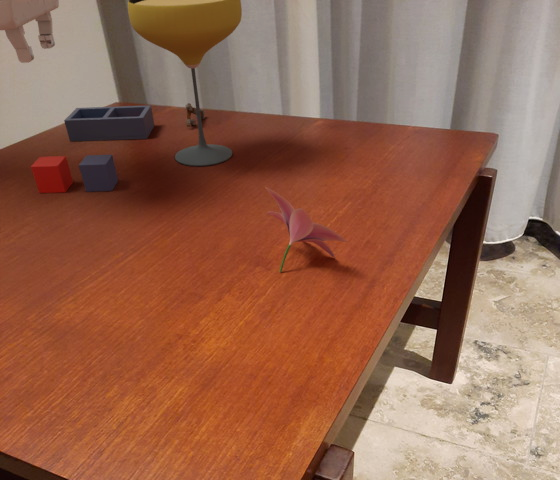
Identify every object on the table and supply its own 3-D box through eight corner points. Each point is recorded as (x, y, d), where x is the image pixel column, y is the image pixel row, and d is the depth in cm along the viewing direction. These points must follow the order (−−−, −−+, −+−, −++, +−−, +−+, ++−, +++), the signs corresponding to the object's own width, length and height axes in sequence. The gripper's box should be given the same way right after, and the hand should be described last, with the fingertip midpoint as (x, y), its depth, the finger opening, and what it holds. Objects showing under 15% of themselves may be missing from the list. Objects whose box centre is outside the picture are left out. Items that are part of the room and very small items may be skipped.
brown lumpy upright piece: (182, 125, 115) (182, 102, 114) (196, 130, 123) (196, 108, 121) (190, 126, 115) (190, 102, 114) (204, 130, 122) (204, 108, 121)
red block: (39, 193, 94) (30, 166, 91) (48, 182, 97) (39, 156, 94) (65, 192, 94) (57, 165, 91) (73, 181, 97) (66, 155, 94)
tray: (146, 138, 113) (142, 117, 110) (69, 141, 113) (63, 120, 111) (154, 125, 119) (151, 105, 117) (81, 128, 120) (76, 107, 117)
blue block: (85, 191, 93) (78, 165, 90) (93, 181, 97) (86, 155, 94) (112, 191, 93) (105, 164, 90) (118, 180, 97) (112, 154, 94)
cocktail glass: (233, 177, 96) (217, 6, 79) (139, 170, 100) (105, 6, 83) (263, 142, 109) (254, -12, 92) (178, 137, 113) (155, -11, 96)
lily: (347, 291, 69) (370, 214, 67) (261, 272, 65) (281, 188, 62) (310, 273, 80) (328, 206, 77) (234, 256, 75) (250, 184, 72)
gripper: (11, -66, 82) (41, 41, 92) (-53, -56, 67) (-9, 71, 76) (53, -68, 82) (78, 39, 91) (-2, -58, 67) (36, 69, 76)
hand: (38, 54), depth 84 cm, fingers open, 8 cm apart
